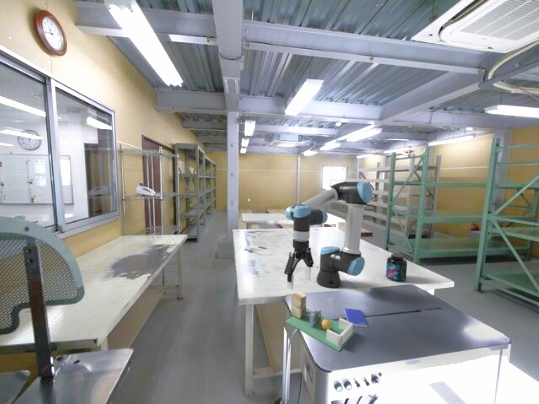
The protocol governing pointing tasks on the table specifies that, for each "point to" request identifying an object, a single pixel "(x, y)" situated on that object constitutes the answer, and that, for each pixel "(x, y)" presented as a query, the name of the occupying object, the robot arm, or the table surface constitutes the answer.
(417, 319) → the table surface
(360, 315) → the blue flat square slab
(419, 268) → the table surface
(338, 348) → the pitch mat
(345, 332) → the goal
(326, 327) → the ball
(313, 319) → the rod slider
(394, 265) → the container
